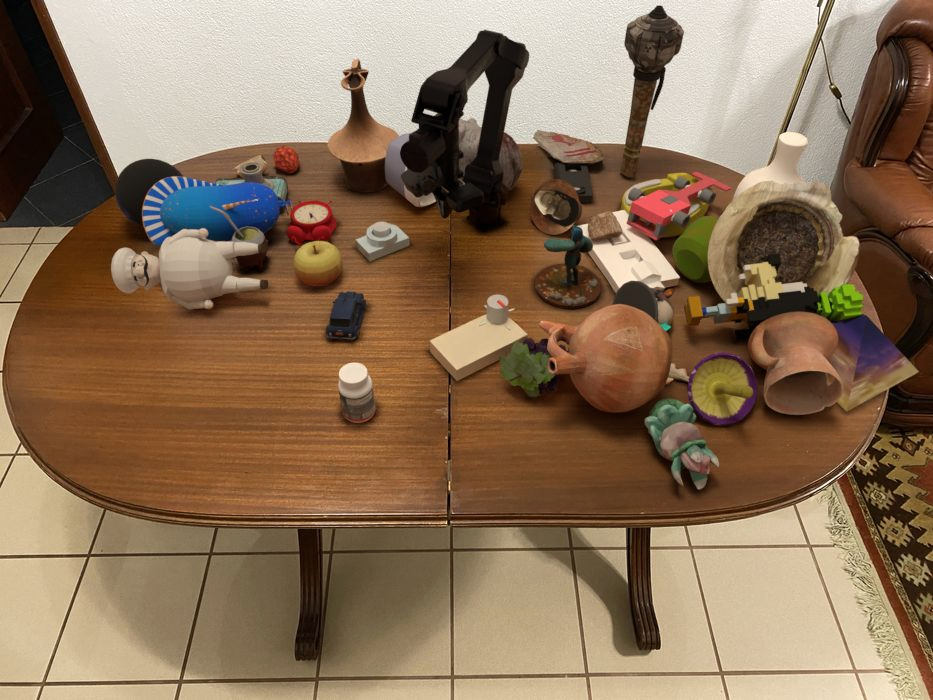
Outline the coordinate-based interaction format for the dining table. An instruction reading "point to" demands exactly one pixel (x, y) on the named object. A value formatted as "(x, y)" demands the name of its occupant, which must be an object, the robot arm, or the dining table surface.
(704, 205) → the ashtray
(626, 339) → the jug
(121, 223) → the dining table surface
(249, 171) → the camera
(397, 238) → the control knob block
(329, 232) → the alarm clock
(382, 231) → the flush button
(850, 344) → the decorative sculpture
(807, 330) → the ceramic jug
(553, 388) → the fruit
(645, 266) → the building model
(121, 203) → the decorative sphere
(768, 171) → the vase
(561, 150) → the stone artifact
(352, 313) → the toy car
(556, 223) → the brown hollow round piece
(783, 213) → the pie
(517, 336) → the panel
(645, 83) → the mace
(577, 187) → the vhs tape
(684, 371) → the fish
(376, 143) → the brown clay flask
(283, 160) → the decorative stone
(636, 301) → the figurine
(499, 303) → the knob
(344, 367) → the pill bottle
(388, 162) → the bowl
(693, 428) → the toy
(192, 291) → the figurine
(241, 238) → the mate gourd
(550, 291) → the figurine
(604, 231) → the stone
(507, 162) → the sculpture
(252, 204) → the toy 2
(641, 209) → the race car
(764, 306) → the toy
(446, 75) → the robot arm
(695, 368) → the decorative mushroom
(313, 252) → the apple
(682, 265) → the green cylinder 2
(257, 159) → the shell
